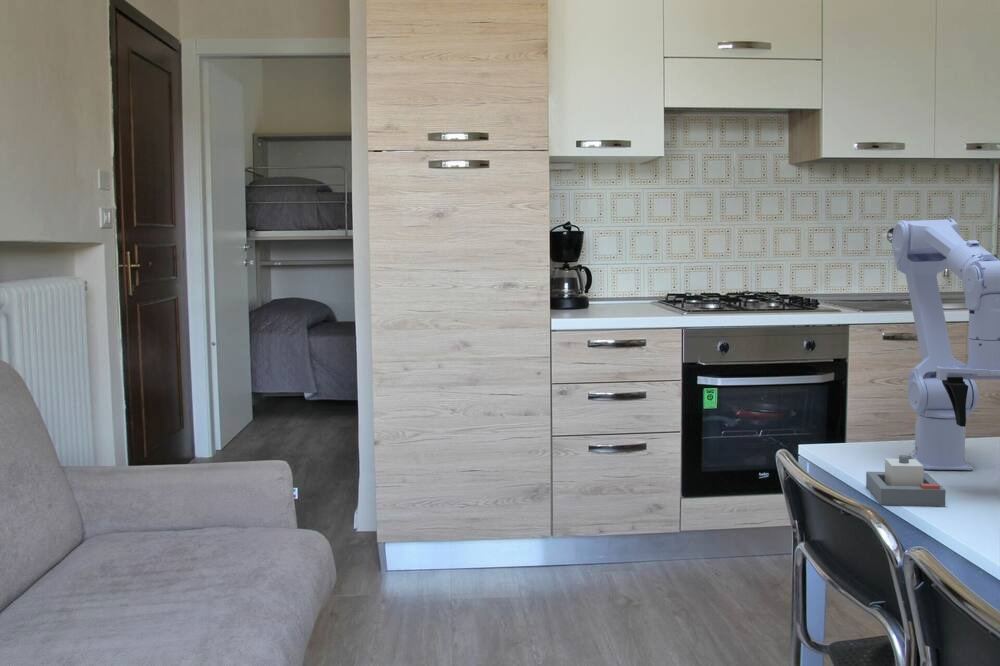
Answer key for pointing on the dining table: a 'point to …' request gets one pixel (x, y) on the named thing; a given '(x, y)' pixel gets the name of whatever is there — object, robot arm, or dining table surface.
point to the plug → (903, 472)
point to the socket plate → (905, 491)
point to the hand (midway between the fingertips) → (987, 425)
